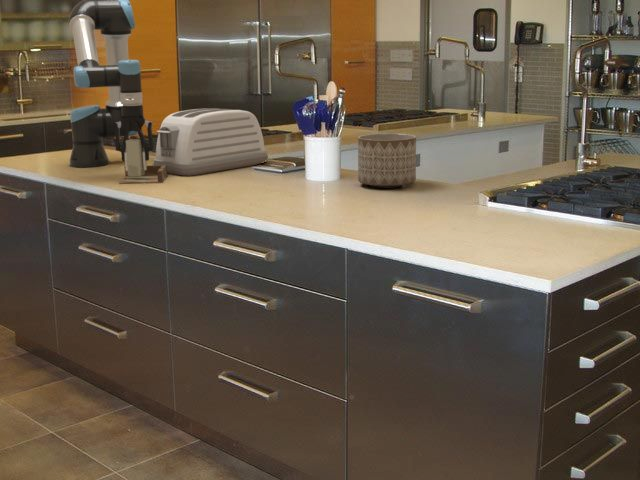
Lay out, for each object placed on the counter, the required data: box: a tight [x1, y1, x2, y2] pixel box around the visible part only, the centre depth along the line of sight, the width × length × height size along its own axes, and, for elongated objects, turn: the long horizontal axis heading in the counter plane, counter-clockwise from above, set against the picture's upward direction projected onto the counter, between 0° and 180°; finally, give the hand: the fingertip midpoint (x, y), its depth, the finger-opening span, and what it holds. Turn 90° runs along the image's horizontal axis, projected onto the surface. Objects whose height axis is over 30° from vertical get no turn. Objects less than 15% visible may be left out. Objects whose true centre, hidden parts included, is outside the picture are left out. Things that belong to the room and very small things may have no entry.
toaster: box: [152, 107, 269, 177], centre depth 342 cm, size 23×45×22 cm, turn 137°
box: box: [125, 138, 145, 176], centre depth 316 cm, size 5×4×13 cm
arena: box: [118, 164, 168, 185], centre depth 319 cm, size 15×15×4 cm
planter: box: [357, 132, 417, 189], centre depth 297 cm, size 19×19×16 cm
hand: (136, 169), depth 317 cm, fingers closed on box, 6 cm apart
